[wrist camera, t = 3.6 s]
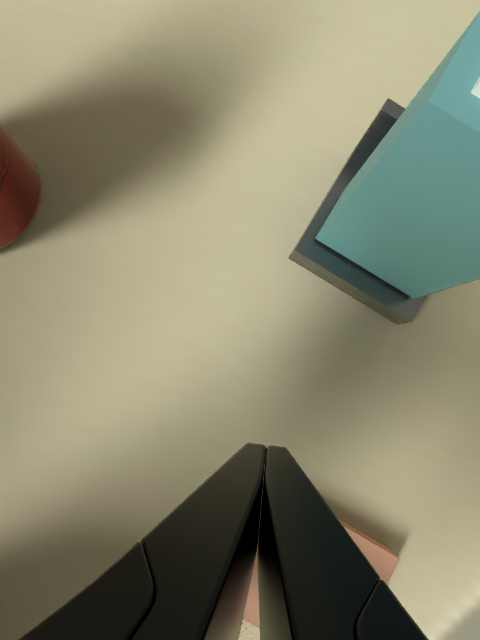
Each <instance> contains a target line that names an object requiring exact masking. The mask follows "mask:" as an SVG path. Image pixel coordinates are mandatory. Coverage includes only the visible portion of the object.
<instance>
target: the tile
mask: <svg viewBox="0 0 480 640" xmlns="http://www.w3.org/2000/svg"><path fill="white" fill-rule="evenodd" d="M338 520H339V521H340V522H341V524H342V525H343V526H344V528H345V529H346V531H347V532H348V533H349V535H350V536H351V537H352V539H353V540H354V542H355V543H356V544H357V546H358V547H359V548H360V550H361V551H362V553H363V554H364V555H365V557H366V558H367V559H368V561H369V562H370V563H371V565H372V566H373V568H374V569H375V570H376V572H377V573H378V574H379V576H380V580H384V581H385V583H386V584H387V583H388V581H389V578H390V576H391V574H392V572H393V570H394V568H395V566H396V564H397V562H398V559H399V558H398V557H397V556H396V555H395V554H394V553H393V552H392V551H391V550H390V548H388V547H386V546H385V545H383V544H381V543H379V542H378V541H376V540H374V539H373V538H371V537H369V536H367V535H366V534H364V533H362V532H361V531H359V530H357V529H356V528H354V527H352V526H350V525H349V524H347V523H345V522H344V521H342V520H340V519H338ZM243 619H245V620H247V621H248V622H250V623H252V624H254V625H255V626H257V627H259V628H260V619H259V592H258V556H257V557H256V559H255V565H254V570H253V574H252V579H251V583H250V588H249V593H248V597H247V602H246V606H245V611H244V616H243Z"/></svg>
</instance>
